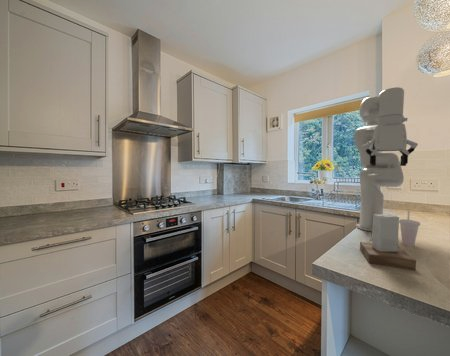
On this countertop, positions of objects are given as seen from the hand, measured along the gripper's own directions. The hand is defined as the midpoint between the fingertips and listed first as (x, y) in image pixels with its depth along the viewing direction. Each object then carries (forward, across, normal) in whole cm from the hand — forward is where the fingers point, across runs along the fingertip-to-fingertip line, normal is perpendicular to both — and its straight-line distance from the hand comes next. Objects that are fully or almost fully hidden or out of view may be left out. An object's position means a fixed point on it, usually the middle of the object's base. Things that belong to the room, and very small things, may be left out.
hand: (387, 165), depth 80 cm
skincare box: (+30, +4, +14) cm, 33 cm away
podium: (+32, +4, +14) cm, 35 cm away
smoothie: (+32, -10, -6) cm, 35 cm away
